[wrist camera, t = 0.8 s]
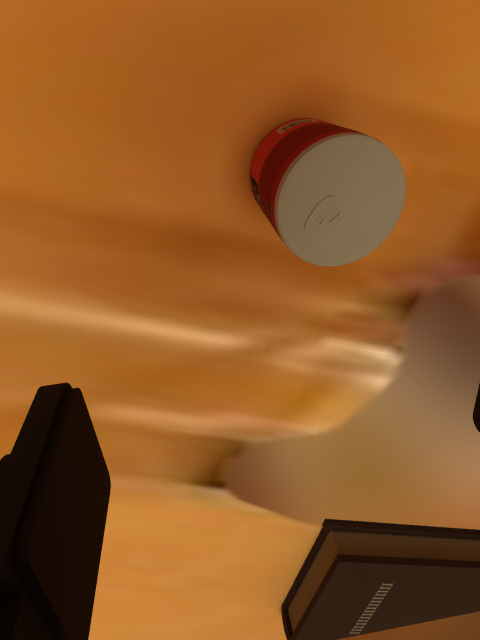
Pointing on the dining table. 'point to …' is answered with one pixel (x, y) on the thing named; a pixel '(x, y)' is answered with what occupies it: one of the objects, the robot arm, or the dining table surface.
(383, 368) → the dining table surface
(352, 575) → the book
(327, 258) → the canned food
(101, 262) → the dining table surface
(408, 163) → the dining table surface
